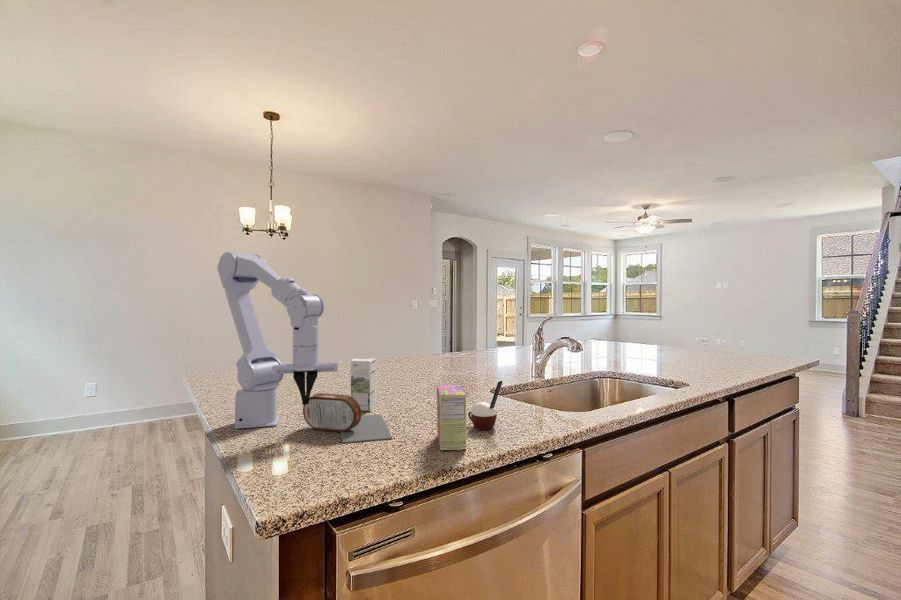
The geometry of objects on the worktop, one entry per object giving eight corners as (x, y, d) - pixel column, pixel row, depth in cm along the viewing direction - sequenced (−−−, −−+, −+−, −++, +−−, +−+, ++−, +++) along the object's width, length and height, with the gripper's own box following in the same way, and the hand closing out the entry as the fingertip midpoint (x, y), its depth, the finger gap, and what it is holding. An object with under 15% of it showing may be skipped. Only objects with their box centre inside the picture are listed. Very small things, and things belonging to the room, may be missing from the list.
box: (436, 435, 100) (436, 384, 100) (461, 435, 101) (461, 384, 101) (439, 451, 90) (439, 395, 90) (466, 451, 90) (466, 394, 90)
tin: (362, 429, 103) (361, 394, 102) (355, 434, 100) (354, 397, 99) (309, 425, 108) (308, 391, 107) (301, 429, 105) (299, 394, 104)
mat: (342, 443, 95) (342, 442, 95) (338, 418, 114) (338, 417, 114) (392, 438, 98) (392, 437, 98) (380, 415, 117) (380, 414, 117)
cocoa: (464, 426, 109) (462, 379, 109) (485, 422, 112) (483, 376, 112) (485, 435, 100) (483, 384, 100) (507, 430, 103) (505, 380, 103)
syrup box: (375, 406, 126) (375, 357, 126) (369, 412, 120) (370, 360, 120) (356, 406, 127) (356, 356, 126) (349, 411, 121) (350, 359, 121)
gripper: (270, 348, 96) (270, 409, 96) (338, 346, 100) (338, 405, 100) (273, 345, 103) (274, 402, 103) (337, 343, 107) (337, 398, 107)
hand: (305, 403), depth 102 cm, fingers closed
